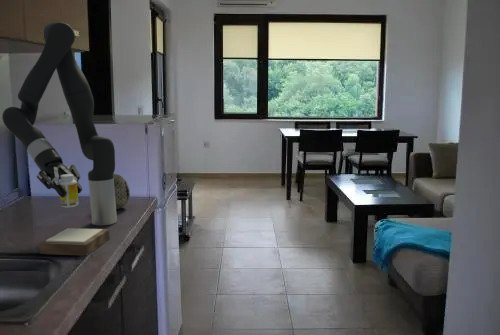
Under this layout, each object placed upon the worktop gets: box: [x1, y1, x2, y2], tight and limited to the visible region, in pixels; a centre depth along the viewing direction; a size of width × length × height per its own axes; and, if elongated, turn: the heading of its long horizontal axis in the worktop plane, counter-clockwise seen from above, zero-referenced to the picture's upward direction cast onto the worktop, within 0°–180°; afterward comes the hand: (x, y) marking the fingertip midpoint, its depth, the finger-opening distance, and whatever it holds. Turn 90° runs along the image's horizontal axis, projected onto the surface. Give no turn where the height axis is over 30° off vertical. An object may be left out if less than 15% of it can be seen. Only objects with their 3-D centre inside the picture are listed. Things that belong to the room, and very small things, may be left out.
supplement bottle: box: [59, 174, 80, 208], centre depth 158 cm, size 6×6×10 cm
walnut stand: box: [38, 227, 111, 256], centre depth 161 cm, size 16×16×4 cm
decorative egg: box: [113, 173, 131, 210], centre depth 206 cm, size 12×12×15 cm
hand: (72, 193), depth 157 cm, fingers closed on supplement bottle, 5 cm apart
